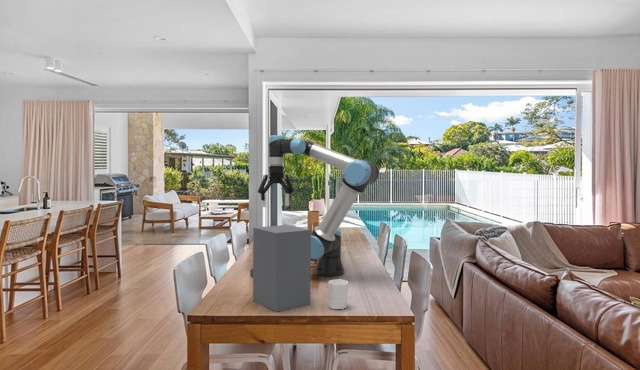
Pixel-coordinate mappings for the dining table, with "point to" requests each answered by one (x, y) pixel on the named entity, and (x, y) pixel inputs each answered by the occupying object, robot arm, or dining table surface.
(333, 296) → the white cup
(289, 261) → the pedestal
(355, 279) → the dining table surface
